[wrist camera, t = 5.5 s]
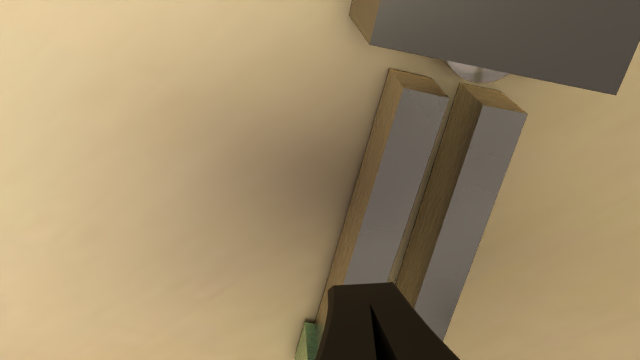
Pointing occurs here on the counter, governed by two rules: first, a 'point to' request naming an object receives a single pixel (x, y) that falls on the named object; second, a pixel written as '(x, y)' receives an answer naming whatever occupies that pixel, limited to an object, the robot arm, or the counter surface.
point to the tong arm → (383, 189)
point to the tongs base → (459, 195)
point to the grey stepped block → (513, 35)
